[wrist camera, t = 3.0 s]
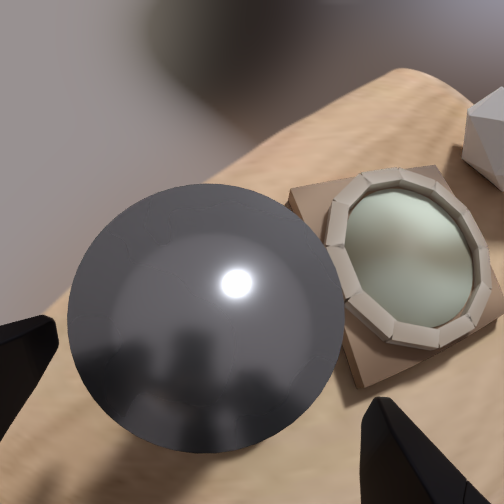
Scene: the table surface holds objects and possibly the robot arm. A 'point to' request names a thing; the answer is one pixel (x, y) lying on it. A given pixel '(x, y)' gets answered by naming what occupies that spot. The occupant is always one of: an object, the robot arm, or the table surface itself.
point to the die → (486, 138)
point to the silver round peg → (206, 318)
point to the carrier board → (401, 266)
